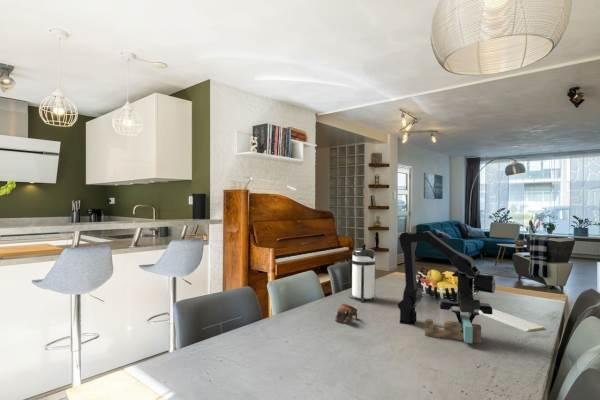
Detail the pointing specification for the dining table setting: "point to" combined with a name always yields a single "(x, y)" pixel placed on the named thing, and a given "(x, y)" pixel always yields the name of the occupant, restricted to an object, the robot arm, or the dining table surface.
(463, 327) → the teal notched plate
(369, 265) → the coffee press
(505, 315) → the baseboard molding
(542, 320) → the dining table surface
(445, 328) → the walnut slotted board
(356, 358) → the dining table surface
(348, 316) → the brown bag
